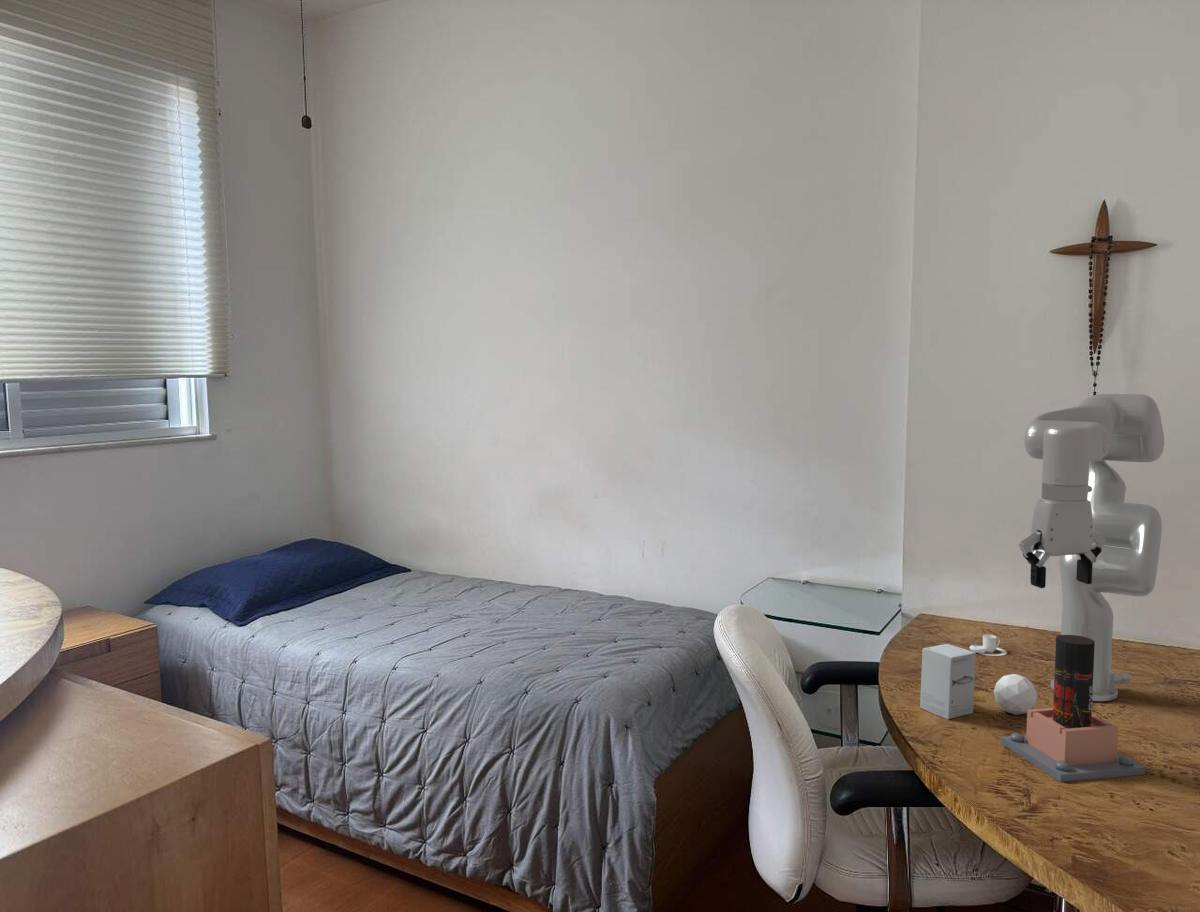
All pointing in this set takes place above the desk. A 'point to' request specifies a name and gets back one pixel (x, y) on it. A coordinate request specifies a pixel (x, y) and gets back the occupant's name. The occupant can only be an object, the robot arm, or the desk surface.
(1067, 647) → the deodorant
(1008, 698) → the geometric ball
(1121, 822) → the desk surface
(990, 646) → the teacup and saucer
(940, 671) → the supplement box
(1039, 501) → the robot arm
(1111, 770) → the tower base
